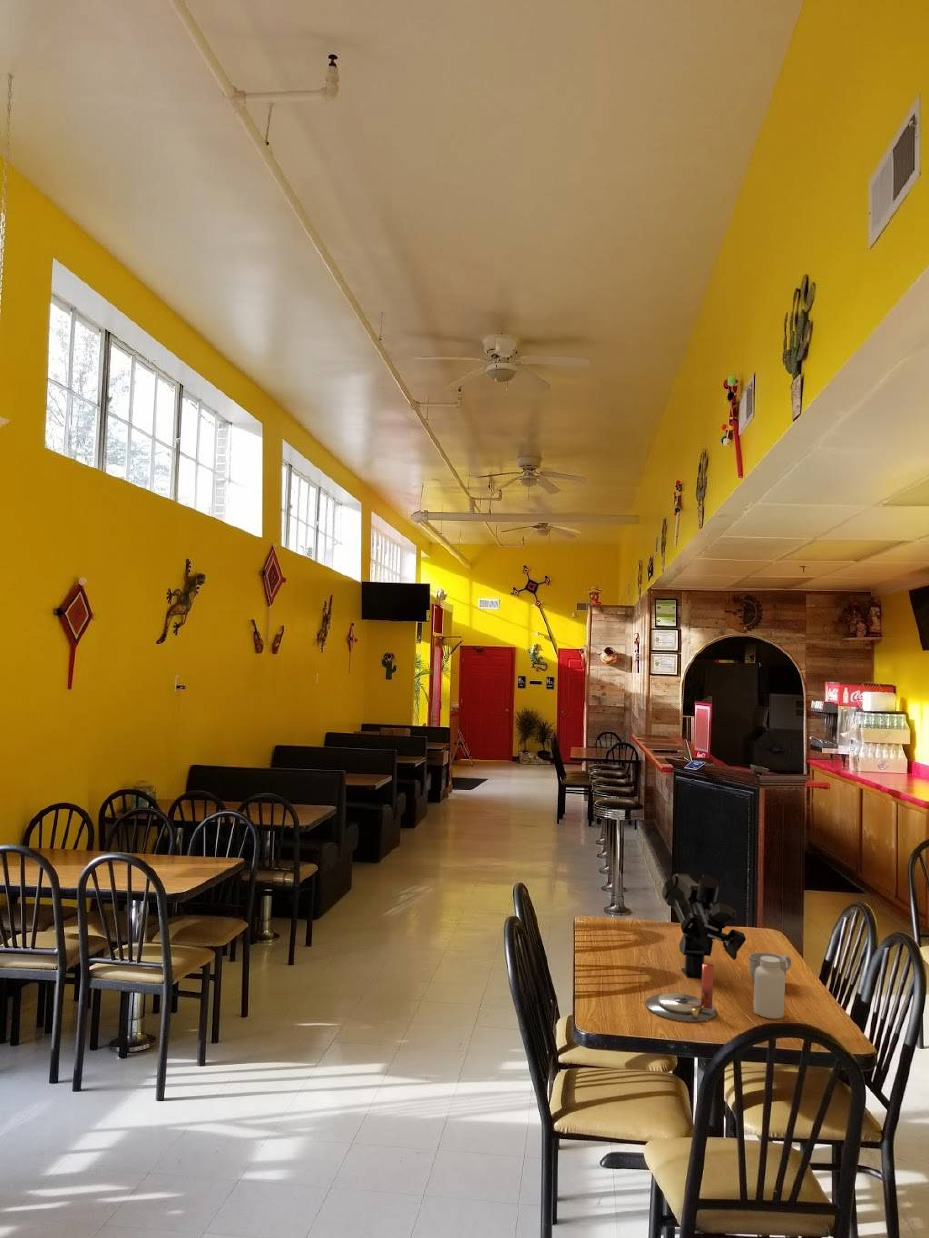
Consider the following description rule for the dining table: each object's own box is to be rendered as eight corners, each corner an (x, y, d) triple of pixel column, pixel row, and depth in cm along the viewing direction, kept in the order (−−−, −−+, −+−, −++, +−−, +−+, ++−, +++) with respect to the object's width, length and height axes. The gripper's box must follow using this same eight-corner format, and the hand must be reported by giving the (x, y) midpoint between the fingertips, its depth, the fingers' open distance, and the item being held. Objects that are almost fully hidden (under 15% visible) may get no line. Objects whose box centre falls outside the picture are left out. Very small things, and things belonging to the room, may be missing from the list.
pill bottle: (772, 1021, 242) (774, 964, 243) (747, 1011, 249) (748, 956, 249) (789, 1016, 247) (791, 960, 248) (764, 1006, 253) (766, 952, 254)
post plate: (637, 995, 257) (638, 984, 258) (703, 996, 258) (703, 985, 259) (655, 1021, 238) (656, 1009, 239) (726, 1023, 240) (726, 1011, 240)
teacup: (759, 989, 267) (760, 962, 267) (741, 977, 277) (742, 950, 278) (802, 988, 269) (803, 961, 270) (782, 976, 280) (783, 950, 280)
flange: (654, 1007, 246) (655, 962, 246) (663, 994, 256) (665, 950, 257) (710, 1019, 239) (711, 972, 240) (717, 1004, 250) (719, 960, 251)
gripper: (693, 885, 265) (707, 921, 250) (747, 906, 268) (764, 943, 253) (674, 913, 268) (687, 950, 254) (727, 933, 272) (743, 971, 257)
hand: (721, 953), depth 254 cm, fingers open, 9 cm apart
